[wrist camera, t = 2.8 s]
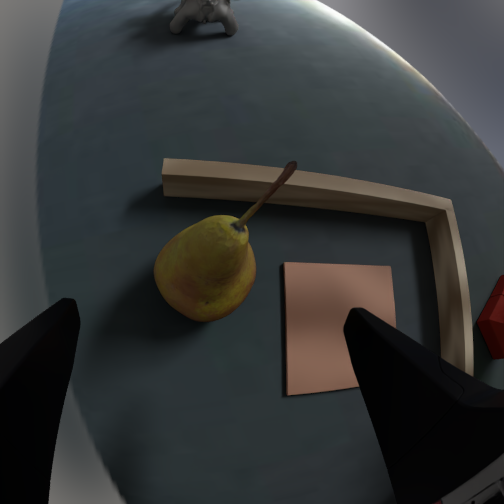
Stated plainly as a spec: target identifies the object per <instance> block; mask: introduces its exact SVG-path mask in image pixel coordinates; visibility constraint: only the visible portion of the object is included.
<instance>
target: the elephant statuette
mask: <svg viewBox="0 0 504 504" xmlns="http://www.w3.org/2000/svg"><path fill="white" fill-rule="evenodd" d="M174 13H175V15H176V16H175V17H174V19H173V20H172V21H171V22H170V30H171V32H172V33H174V34H178V33H180V32H181V30H182V28H183V26H184V25H185V24H186V23H187V22H188V21H189V20H190V19H192V20H197V21H198V22H202V21H203V24H206V20H208V21H209V22H213V21H216V20H220V21H221V23H222V24H223V26H224V28H225V32H226V34H227V35H230V36H231V35H234V34H235V33H236V32H237V30H238V23H237V21H236V19H235V17H234V11H233V10H232V9H231V8H230V0H182V1H181V4H180V6H179V7H178V8H176V9H175V11H174Z"/></svg>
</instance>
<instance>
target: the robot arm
mask: <svg viewBox="0 0 504 504" xmlns="http://www.w3.org/2000/svg"><path fill="white" fill-rule="evenodd" d="M79 330H80V316H79V312H78V308H77V304H76V301H75V300H74V299H72V298H62V299H61V300H59V301H58V302H56V303H55V304H53V305H52V306H51V307H49V308H48V309H46V310H45V311H44V312H42V313H41V314H39V315H38V316H37V317H35V318H34V319H33V320H31V321H30V322H29V323H27V324H26V325H25V326H23V327H22V328H21V329H19V330H18V331H16V332H15V333H14V334H12V335H11V336H10V337H9V338H8V339H6V340H5V341H3V342H2V343H1V344H0V504H48V501H49V490H50V480H51V472H52V471H51V470H52V464H53V457H54V451H55V445H56V439H57V434H58V429H59V423H60V418H61V414H62V409H63V405H64V400H65V396H66V392H67V388H68V384H69V380H70V376H71V373H72V368H73V364H74V358H75V352H76V346H77V341H78V335H79ZM343 333H344V337H345V340H346V344H347V348H348V352H349V356H350V360H351V364H352V367H353V370H354V373H355V376H356V379H357V382H358V384H359V387H360V390H361V393H362V396H363V398H364V401H365V404H366V407H367V410H368V413H369V415H370V418H371V421H372V424H373V427H374V430H375V433H376V436H377V439H378V442H379V445H380V448H381V451H382V454H383V457H384V461H385V464H386V467H387V469H388V470H387V471H388V474H389V477H390V480H391V484H392V487H393V490H394V494H395V497H396V501H397V504H435V503H437V502H439V501H441V503H442V504H504V390H501V389H496V388H493V387H491V386H489V385H487V384H486V383H484V382H482V381H480V380H478V379H476V378H475V377H473V376H471V375H469V374H467V373H466V372H464V371H462V370H460V369H459V368H457V367H455V366H454V365H452V364H450V363H449V362H447V361H446V360H444V359H443V358H441V357H439V356H437V355H436V354H435V353H433V352H432V351H430V350H429V349H427V348H425V347H424V346H422V345H421V344H419V343H418V342H416V341H415V340H413V339H411V338H410V337H408V336H407V335H405V334H404V333H402V332H400V331H399V330H397V329H396V328H394V327H393V326H391V325H390V324H388V323H386V322H385V321H383V320H382V319H380V318H379V317H377V316H375V315H374V314H372V313H371V312H369V311H367V310H366V309H364V308H362V307H354V308H351V309H350V311H349V313H348V316H347V319H346V321H345V324H344V327H343Z"/></svg>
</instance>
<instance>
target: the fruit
mask: <svg viewBox="0 0 504 504" xmlns="http://www.w3.org/2000/svg"><path fill="white" fill-rule="evenodd" d="M296 168H297V162H296V161H292V162H289V163H288V164H287V165H286V167H285V168H284V170H283V172H282V173H281V175H280V176H279V177H278V178H277V180H276V181H275V182H273V183H272V185H271V186H270V187H269V188H268V190H267V191H266V192H265V193H264V194H263V196H262V197H261V198H260V199H259V200H258V201H257V203H256V204H254V205H253V206H252V207H251V208H250V209H249V210H248V211H247V212H246V213H245V214H244V215H243V216H242V217H241V218H240V219H238V218H236V217H233V216H227V215H217V216H212V217H208V218H206V219H204V220H202V221H200V222H198V223H197V224H194V225H192V226H190V227H188V228H186V229H185V230H183V231H182V232H180V233H179V234H177V235H176V236H175V237H174V238H172V239H171V240H170V241H169V242H168V243H167V244H166V245H165V246H164V248H163V249H162V250H161V252H160V253H159V255H158V257H157V259H156V261H155V265H154V271H153V272H154V278H155V281H156V284H157V287H158V289H159V291H160V293H161V295H162V296H163V298H164V299H165V300H166V301H167V303H168V304H169V305H170V306H171V307H173V308H174V309H175V310H177V311H178V312H180V313H181V314H183V315H184V316H186V317H188V318H190V319H192V320H194V321H199V322H210V321H215V320H219V319H221V318H223V317H226V316H227V315H229V314H230V313H232V312H233V311H234V310H235V309H236V308H238V307H239V305H240V304H241V303H242V302H243V301H244V300H245V298H246V297H247V295H248V293H249V292H250V290H251V287H252V285H253V284H254V281H255V276H256V263H255V258H254V254H253V251H252V248H251V246H250V244H249V242H248V236H249V233H248V229H247V227H246V225H245V224H246V222H247V221H248V219H249V218H250V217H251V216H252V215H253V214H254V213H255V212H256V211H257V210H258V209H259V208H260V207H261V206H262V205H263V203H265V202H266V201H267V200H268V199H269V198H270V197H271V196H272V195H273V194H274V193H275V192H276V190H277V189H278V188H279V187H280V186H282V185H283V184H284V183H285V182H286V181H287V180H288V179H289V178H290V177H291V176H292V174H293V173H294V171H295V170H296Z"/></svg>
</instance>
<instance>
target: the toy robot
mask: <svg viewBox="0 0 504 504" xmlns="http://www.w3.org/2000/svg"><path fill="white" fill-rule="evenodd" d="M477 324H478V326H479V328H480V331H481V333H482V335H483V337H484V339H485V341H486V344H487V346H488V348H489V351H490V353H491V355H492V358H493V359H503V358H504V275H502V276H500V278H499V280H498V282H497V284H496V286H495V288H494V290H493V292H492V294H491V296H490V298H489V300H488V302H487V304H486V306H485V308H484V309H483V311H482V313H481V315H480V317H479V318H478V320H477Z"/></svg>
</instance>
